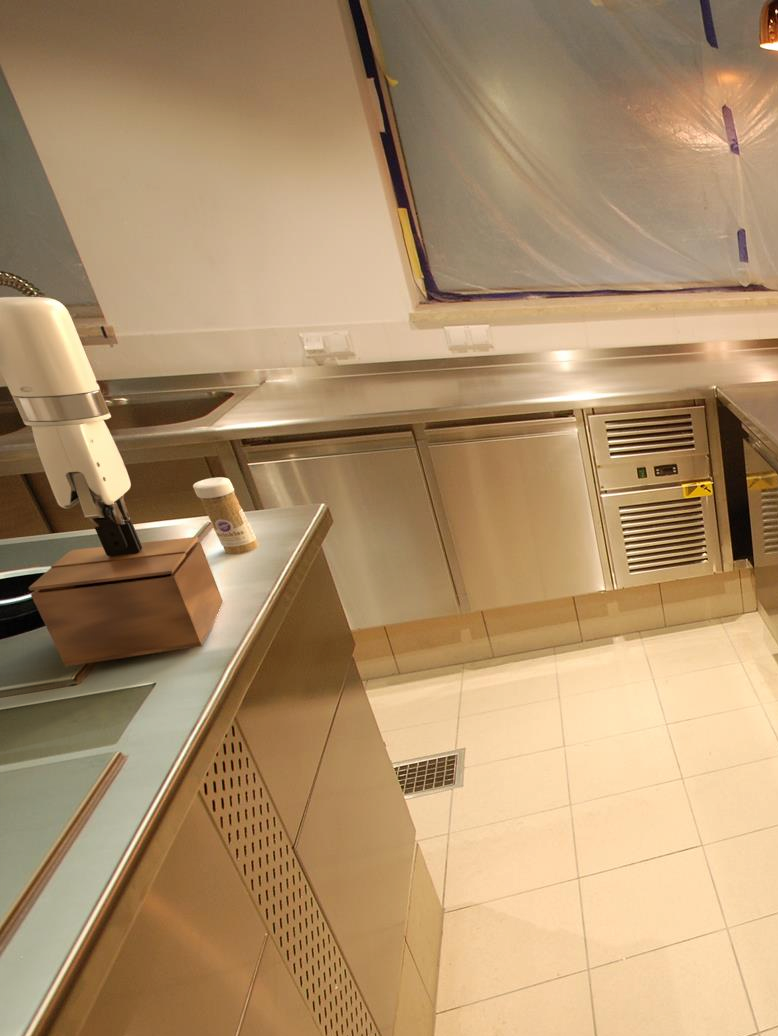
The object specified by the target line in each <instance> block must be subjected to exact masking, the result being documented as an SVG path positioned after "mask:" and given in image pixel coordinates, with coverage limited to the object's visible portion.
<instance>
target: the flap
mask: <svg viewBox="0 0 778 1036" xmlns="http://www.w3.org/2000/svg"><path fill="white" fill-rule="evenodd" d="M198 541H199V537H198V536H192V537H182V538H171V539H164V540H153V541H145V542H144V541H143V542H140V543H141V545H142V549H141V550H140V552H139V553H137V554H129V555H120V556H107V555H106V553H105V550H104V548H103V546H98V547H87V548H79V549H78V548H77V549H72V550H69V551H68V552H66V554H64V555H63V556H62V557H61V558H60V559H58V560H57V561H56V562H54V563H53V564H52V565H50V568H56V567H65V566H74V565H83V564H92V563H101V562H110V561H119V560H128V559H137V558H145V557H154V556H163V555H172V554H181V553H185V554H187V552H188V551H189V550H190V549H191V548H192V547H193V545H194V544H195V543H197V542H198Z"/></svg>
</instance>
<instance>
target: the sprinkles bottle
mask: <svg viewBox="0 0 778 1036" xmlns="http://www.w3.org/2000/svg"><path fill="white" fill-rule="evenodd" d="M192 488H193V490H194V493H195V495H196V497H197V498H198V499H199V500H200V501H201V503H202V506H203V508H204V510H205V512H206V515H207V517H208V518H209V521H210V523H211V525H212V527H213V531H214V533H215V534H216V536H217V538H218V541H219V543H220V545H221V546H222V547H223V549H224V551H225V553H226V554H228V555H239V554H244V553H249V552H251V551H254V550H256V549H257V548H259V545H260V544H259V543H258V542H259V541H258V540H257V537H256V535H255V533H254V530H253V529H252V527H251V524H250V523H249V521H248V518H247V516H246V514H245V512H244V510H243V508H242V507H241V505H240V502H239V500H238V498H237V496H236V494H235V488H234V486H233V483H232V482H231V480H230V479H229V478H227V477H223V476H221V477H209V478H205V479H202V480H199V481H196V482H194V484H193V485H192Z"/></svg>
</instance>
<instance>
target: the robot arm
mask: <svg viewBox="0 0 778 1036" xmlns="http://www.w3.org/2000/svg"><path fill="white" fill-rule="evenodd" d="M84 349H85V348H84V347H83V344H82V341H81V338H80V336H79V334H78V331H77V329H76V325H75V324H74V322H73V318H72V316H71V314H70V312H69V310H68V309H67V307H66V306H65V305H64V304H63V303H62V302H60V301H59V300H56V299H54V298H52V297H51V298H50V297H45V296H44V297H43V296H0V373H1V375H2V377H3V379H4V381H5V384H6V386H7V388H8V390H9V393H10V395H11V397H12V399H13V402H14V403H15V406H16V408H17V409H18V410H17V411H18V412H19V415H20V418H21V419H22V422H23V424H24V425H25V426H29V427H31V431H32V437H33V440H34V444H35V446H36V449H37V452H38V456H39V459H40V461H41V465H42V468H43V470H44V473H45V475H46V477H47V481H48V483H49V485H50V486H49V487H50V488H51V491H52V493H53V495H54V498H55V500H56V503H57V505H58V506H59V507H60V508H63V509H66V510H68V509H72V508H73V507H75V506H76V505H78V504H80V507H81V510H82V513H83V515H84V518H85V519H86V520H89V521H90V522H91V525H92V527H94V530H95V533H96V534H97V537H98V539H99V541H100V543H101V547H103V548H104V550H105V553H106V555H107V556H120V555H129V554H137V553H139V552H140V550H141V549H142V545H141V543H142V542H141V540H140V537H139V536H138V533H137V530H136V528H135V526H134V524H133V521H132V520H131V516H130V513H129V510H128V507H127V504H126V502H125V494H126V493H127V492H128V491H129V490H130V489H131V486H132V484H131V479H130V476H129V473H128V470H127V468H126V465H125V463H124V462H125V461H124V460H123V458H122V456H121V453H120V451H119V449H118V447H117V445H116V442H115V440H114V438H113V436H112V434H111V432H110V429H109V428H108V426H107V424H106V422H105V421H106V420H109V419H111V418H112V414H111V412H110V410H109V407H108V405H107V403H106V400H105V397H104V395H103V393H102V391H101V388H100V385H99V383H98V380H97V378H96V375H95V373H94V370H93V369H92V366H91V363H90V361H89V358H88V357H87V354H86V352H85V350H84Z"/></svg>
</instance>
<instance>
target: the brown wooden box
mask: <svg viewBox="0 0 778 1036" xmlns="http://www.w3.org/2000/svg"><path fill="white" fill-rule="evenodd" d="M28 590H29V591H31V592H32V591H33V592H32V593H31V594H30V596H31V598H32V600H33V602H34V604H35V606H36V609H37V610H38V613H39V615H40V617H41V619H42V621H43V624H44V626H45V627H46V629H47V631H48V633H49V635H50V638H51V640H52V641H53V644H54V646H55V648H56V651H57V652H58V654H59V656H60V658H61V660H62V662H63V665H64V667H73V666H78V665H79V666H80V665H84V664H85V665H86V664H93V663H98V662H105V661H111V660H119V659H124V658H125V659H126V658H131V657H137V656H145V655H150V654H157V653H164V652H165V653H166V652H172V651H179V650H183V649H184V650H185V649H191V648H197V647H202V646H203V644H204V643H205V641H206V640H207V638H208V635H209V634H210V632H211V631H212V628H213V627H214V625H215V623H216V621H215V619H216V620H217V618H218V616H217V614H218V615H219V613H220V611H219V609H220V610H221V608H222V605H223V603H224V600H223V598H222V595H221V592H220V590H219V588H218V585H217V582H216V579H215V576H214V574H213V571H212V569H211V566H210V564H209V561H208V558H207V556H206V553H205V550H204V548H203V545H202V543H201V542H200V541H199V542H198V541H197V542H196V543H195V544H194V545H193V547H192V548H191V549H190V550H189V551H188V552H187V554H185V553H181V554H172V555H163V556H154V557H145V558H137V559H128V560H119V561H110V562H101V563H92V564H83V565H74V566H65V567H56V568H51V567H50V568H49V569H48V570H47V571H46V572H45V573H43V574H42V575H41V576H40V577H39V578H38V579H36V581H34V582H33V583H32V584H31V585H30V586H29V587H28ZM222 602H223V603H222ZM221 604H222V605H221ZM220 607H221V608H220ZM218 612H219V613H218ZM216 617H217V618H216ZM214 622H215V623H214ZM213 624H214V625H213Z"/></svg>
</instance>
